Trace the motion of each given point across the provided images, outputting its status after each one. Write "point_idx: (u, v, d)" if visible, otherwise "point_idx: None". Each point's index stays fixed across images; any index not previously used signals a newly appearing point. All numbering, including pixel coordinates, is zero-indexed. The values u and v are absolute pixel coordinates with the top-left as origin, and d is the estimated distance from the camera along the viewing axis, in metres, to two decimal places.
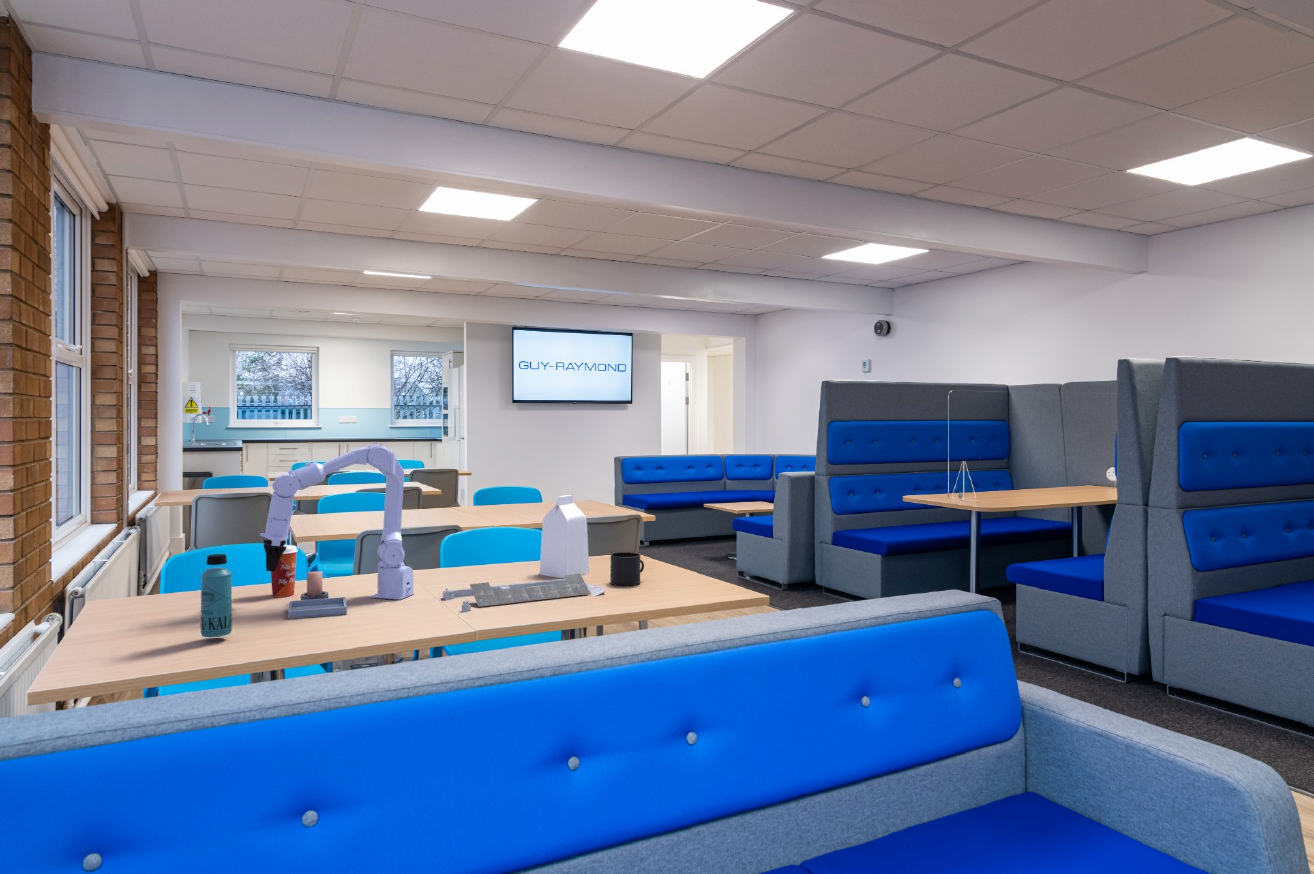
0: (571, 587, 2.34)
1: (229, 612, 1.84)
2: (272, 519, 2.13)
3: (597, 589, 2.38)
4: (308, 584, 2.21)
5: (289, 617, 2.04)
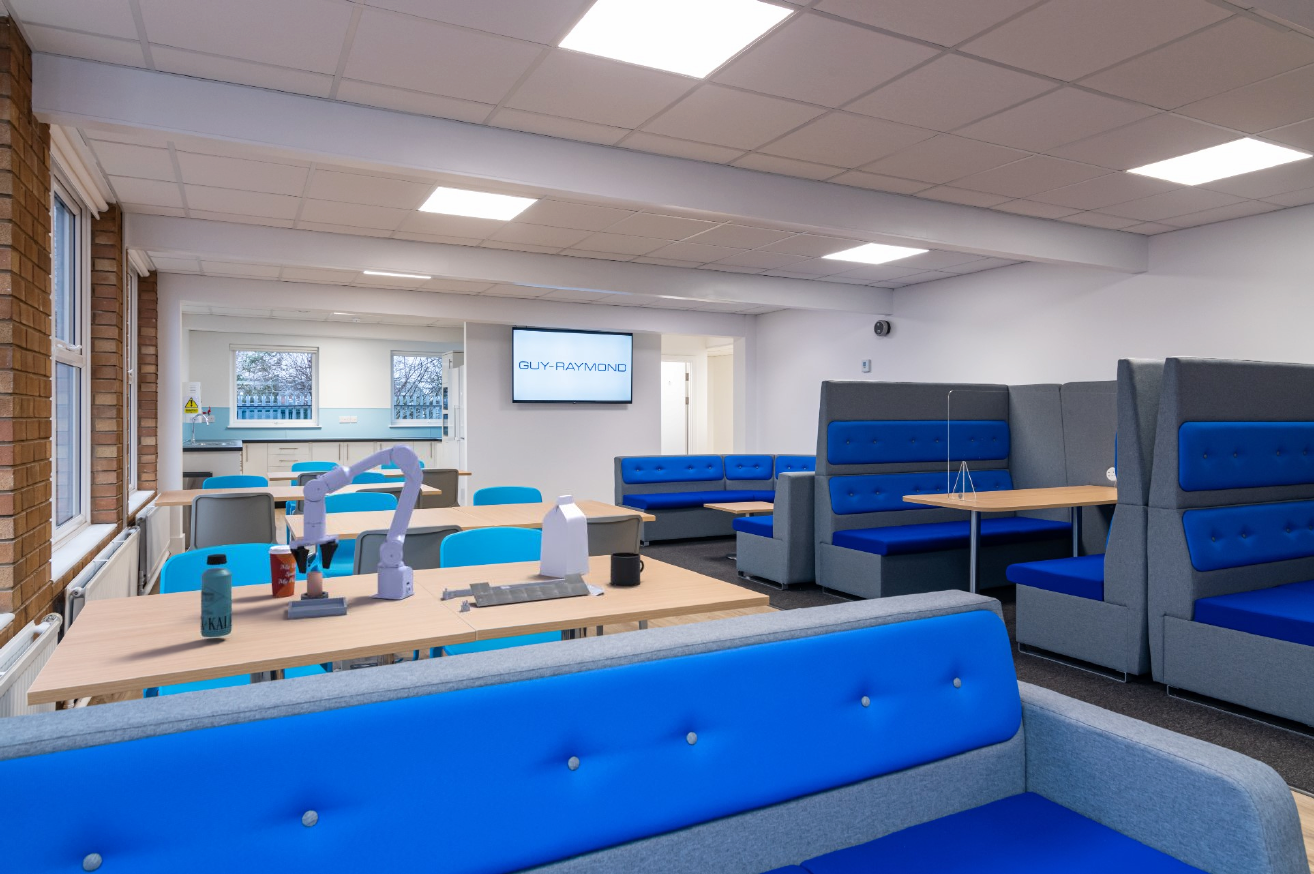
0: (571, 587, 2.34)
1: (229, 612, 1.84)
2: None
3: (597, 589, 2.38)
4: (308, 584, 2.21)
5: (289, 617, 2.04)
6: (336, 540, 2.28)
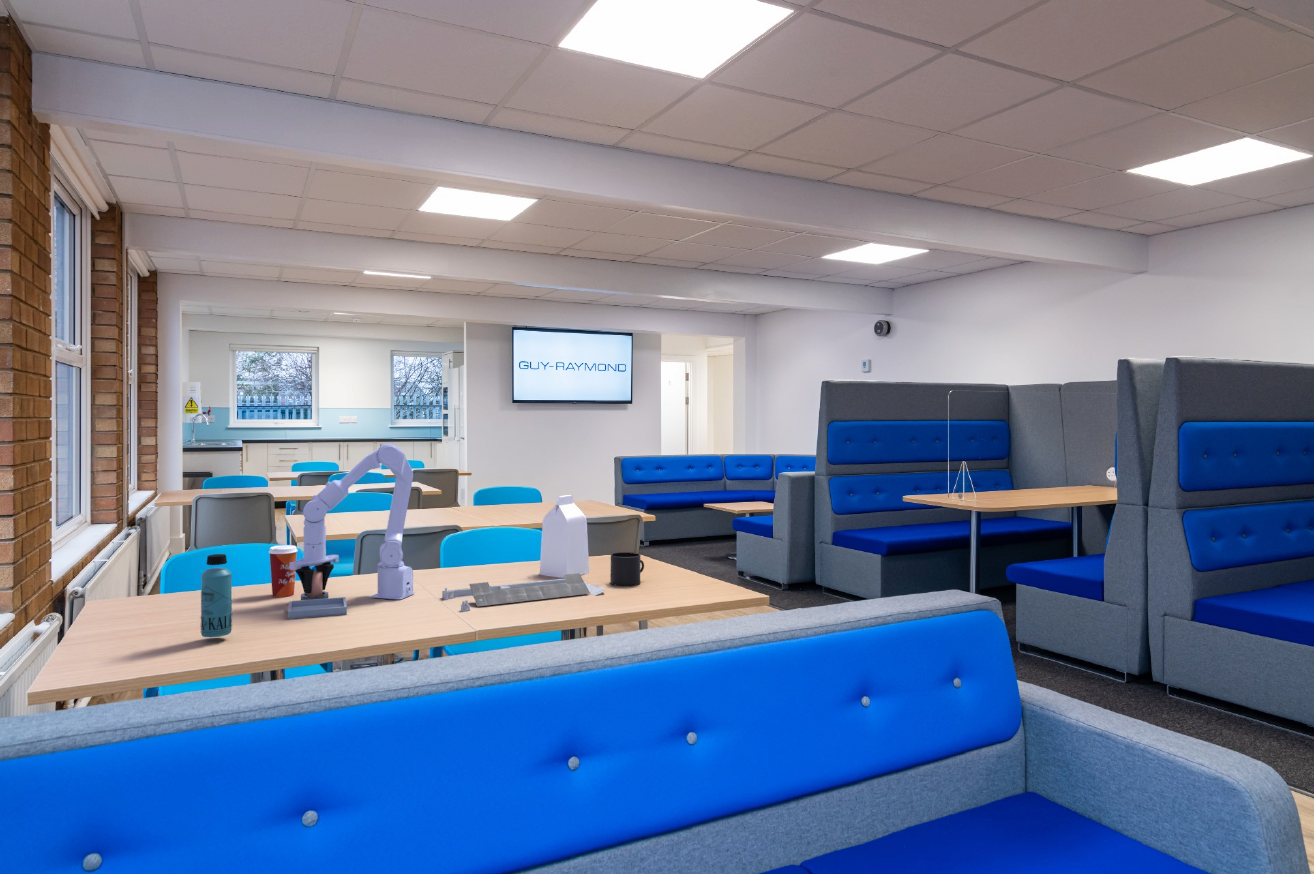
0: (571, 587, 2.34)
1: (229, 612, 1.84)
2: None
3: (596, 589, 2.38)
4: None
5: (289, 617, 2.04)
6: (336, 560, 2.28)
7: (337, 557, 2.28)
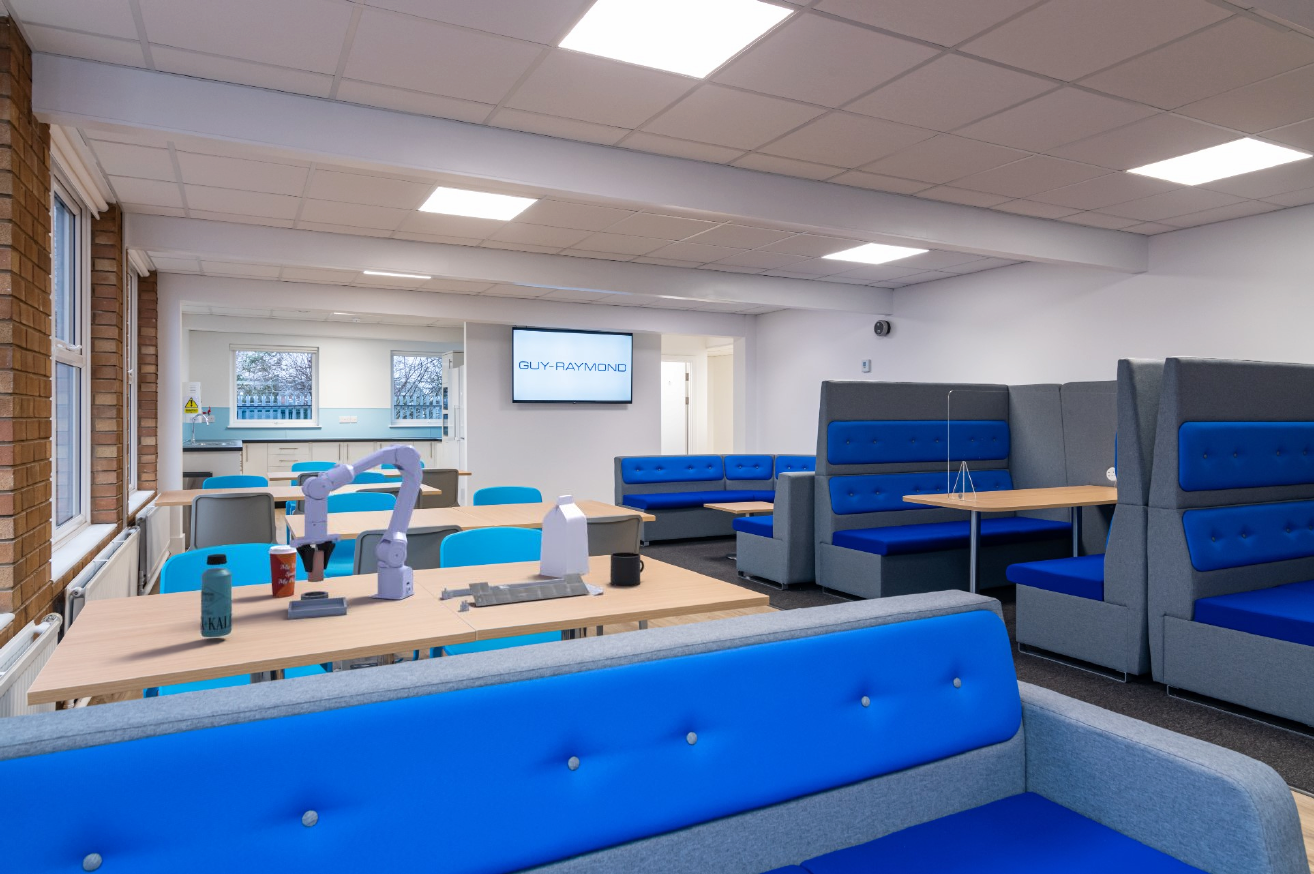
0: (570, 587, 2.35)
1: (229, 612, 1.84)
2: None
3: (596, 589, 2.39)
4: None
5: (289, 617, 2.04)
6: (338, 539, 2.22)
7: (339, 536, 2.22)
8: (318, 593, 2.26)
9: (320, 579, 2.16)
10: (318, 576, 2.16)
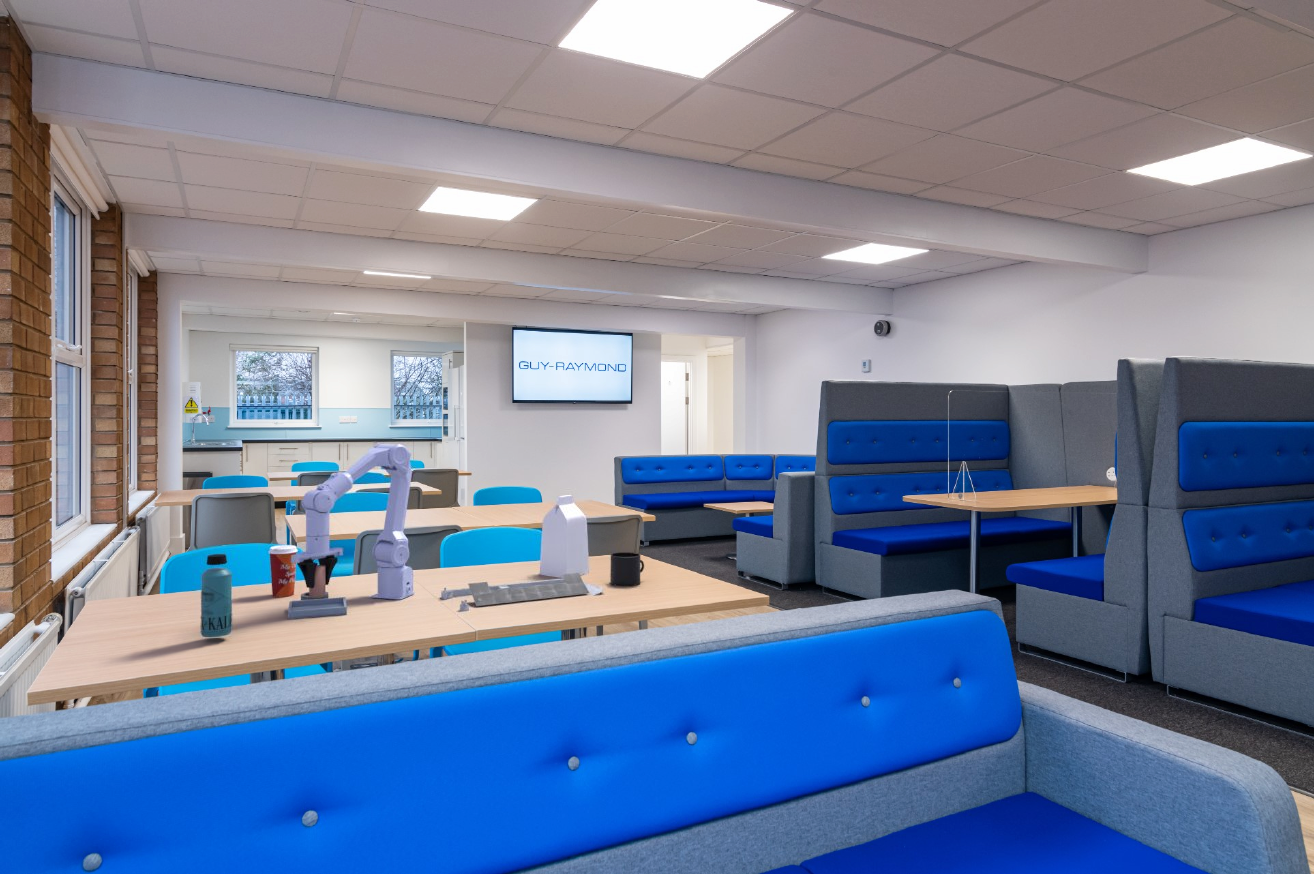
0: (569, 587, 2.35)
1: (229, 612, 1.84)
2: (306, 535, 2.10)
3: (595, 589, 2.39)
4: None
5: (289, 617, 2.04)
6: (340, 553, 2.16)
7: (341, 550, 2.17)
8: None
9: (322, 595, 2.10)
10: (320, 592, 2.10)
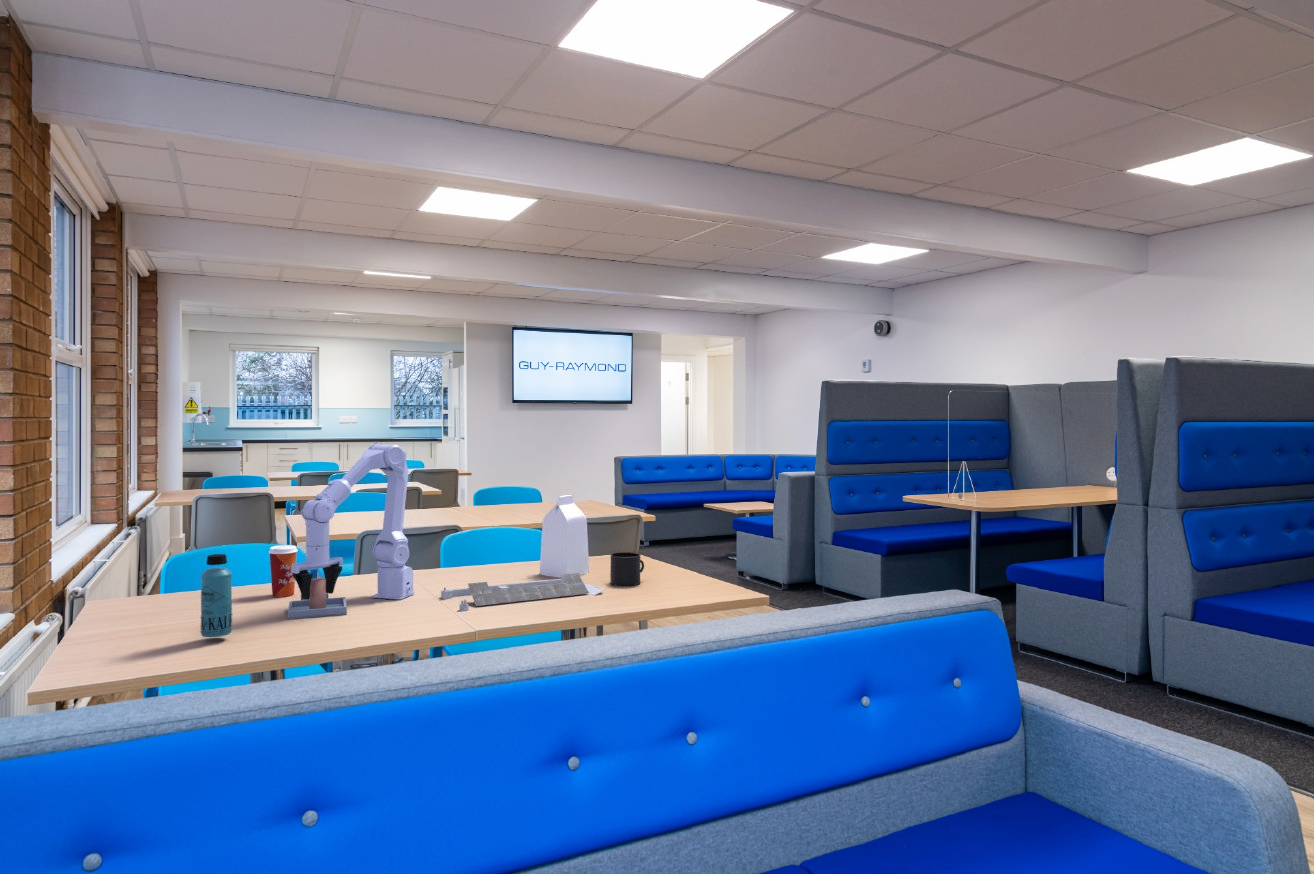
0: (569, 587, 2.35)
1: (229, 612, 1.84)
2: (306, 545, 2.10)
3: (595, 589, 2.39)
4: (310, 591, 2.10)
5: (289, 617, 2.04)
6: (340, 563, 2.17)
7: (341, 559, 2.17)
8: None
9: None
10: (320, 606, 2.10)
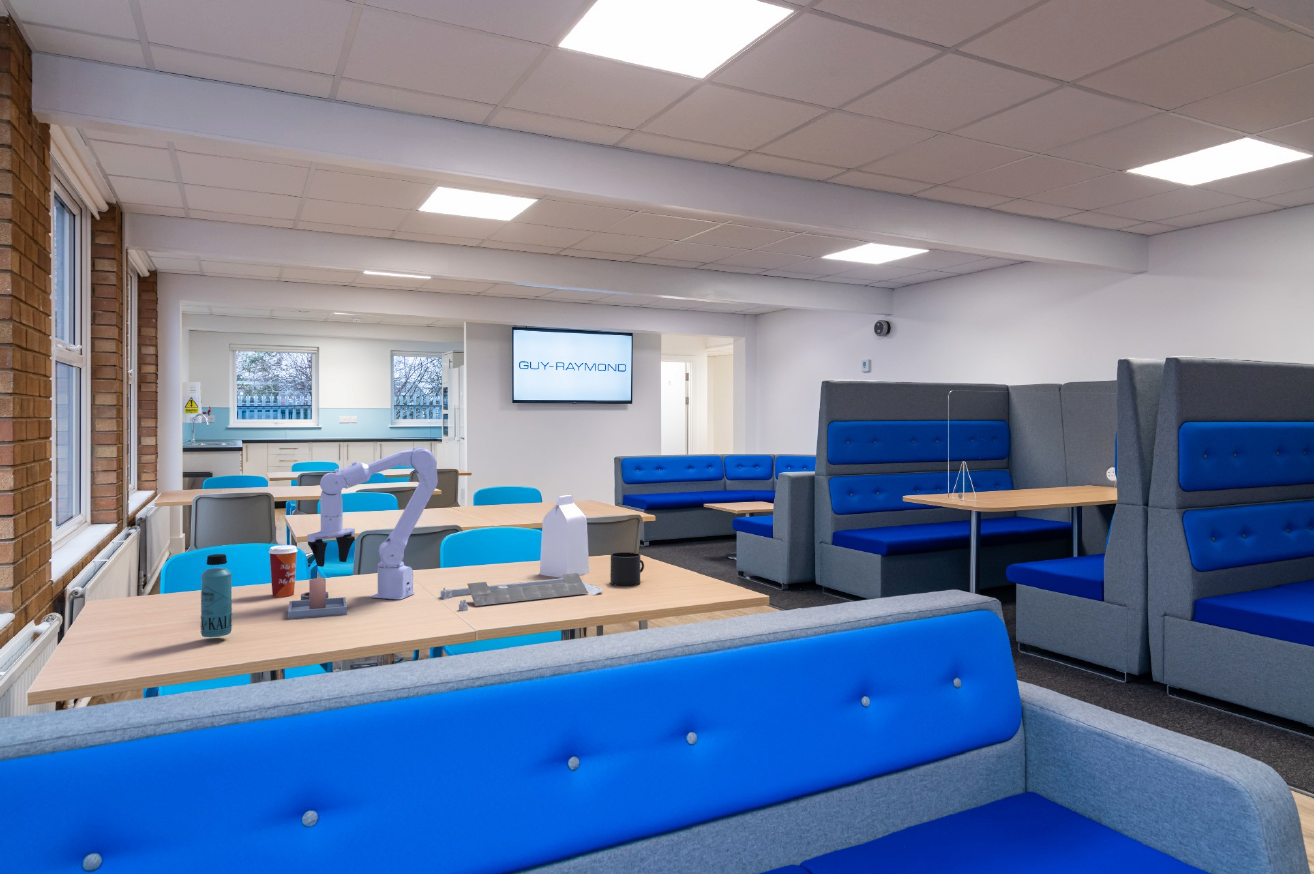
0: (569, 587, 2.35)
1: (229, 612, 1.84)
2: None
3: (595, 589, 2.39)
4: (310, 591, 2.10)
5: (289, 617, 2.04)
6: (352, 533, 2.29)
7: (353, 530, 2.29)
8: None
9: None
10: (320, 606, 2.10)
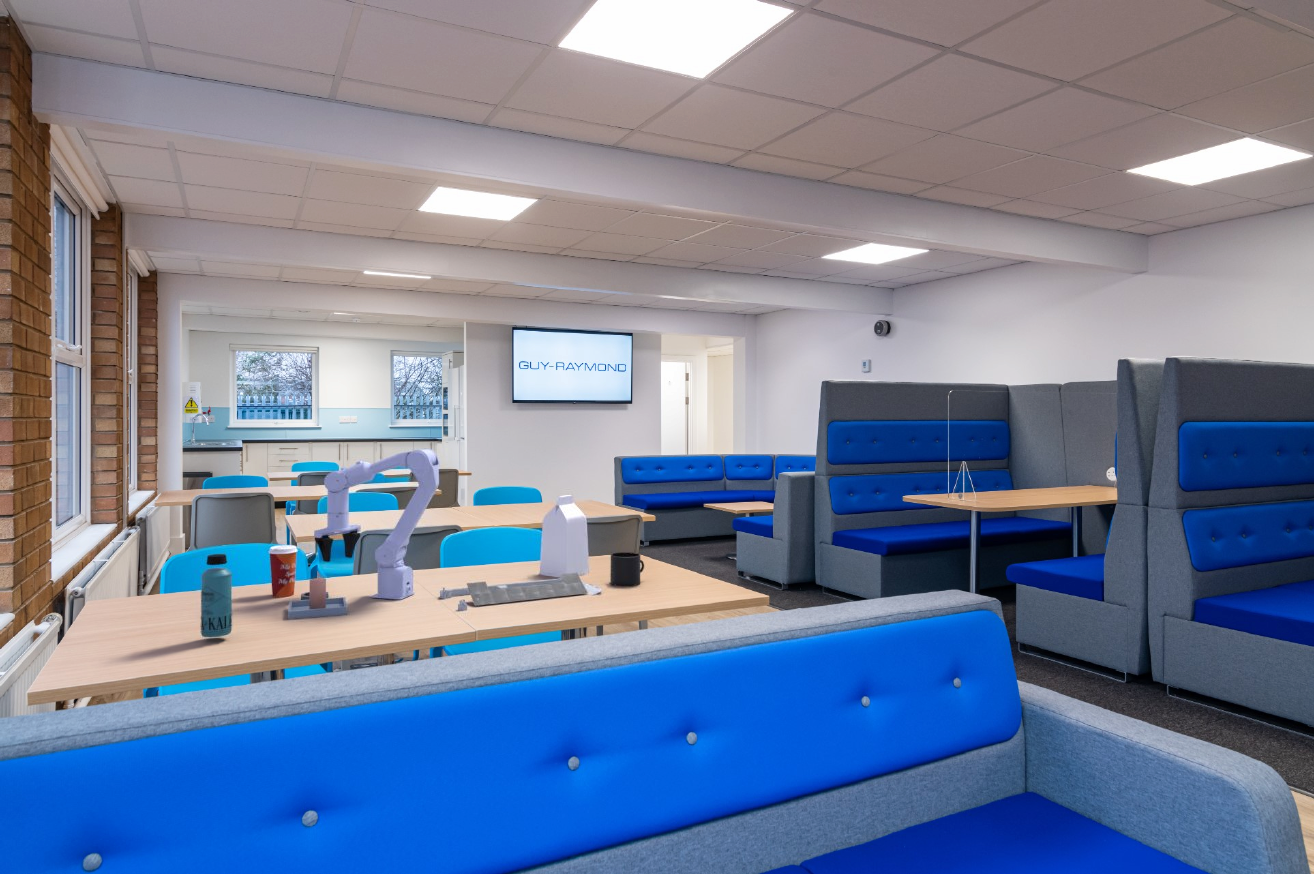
0: (568, 587, 2.35)
1: (229, 612, 1.84)
2: (327, 513, 2.29)
3: (594, 588, 2.39)
4: (310, 591, 2.10)
5: (289, 617, 2.04)
6: (358, 530, 2.35)
7: (359, 527, 2.35)
8: None
9: None
10: (320, 606, 2.10)
